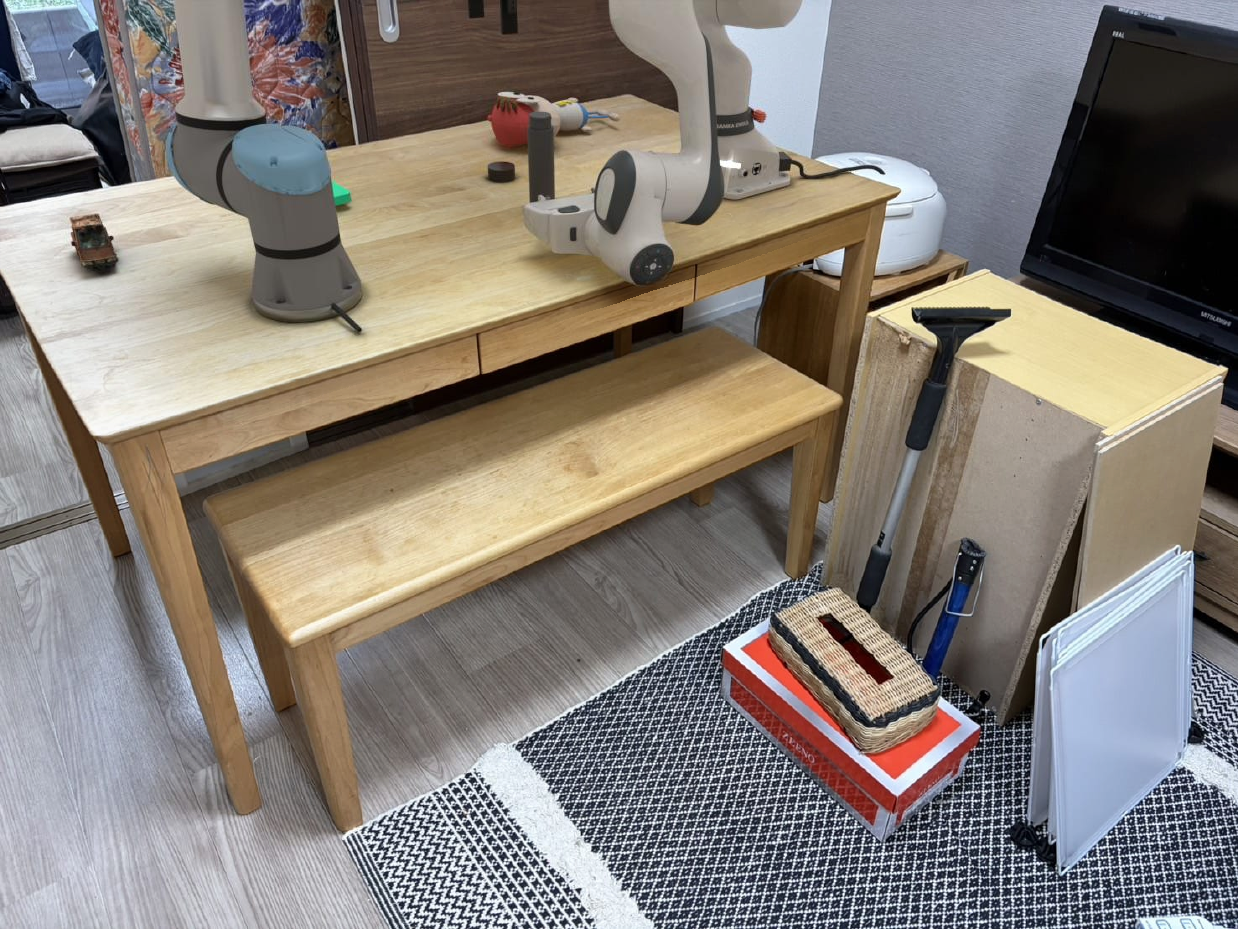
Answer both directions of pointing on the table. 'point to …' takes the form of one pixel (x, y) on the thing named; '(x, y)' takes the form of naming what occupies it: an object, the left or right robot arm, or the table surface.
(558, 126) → the toy
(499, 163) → the lid
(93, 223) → the toy car
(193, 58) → the left robot arm
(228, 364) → the table surface
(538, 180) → the dark grey cylinder
